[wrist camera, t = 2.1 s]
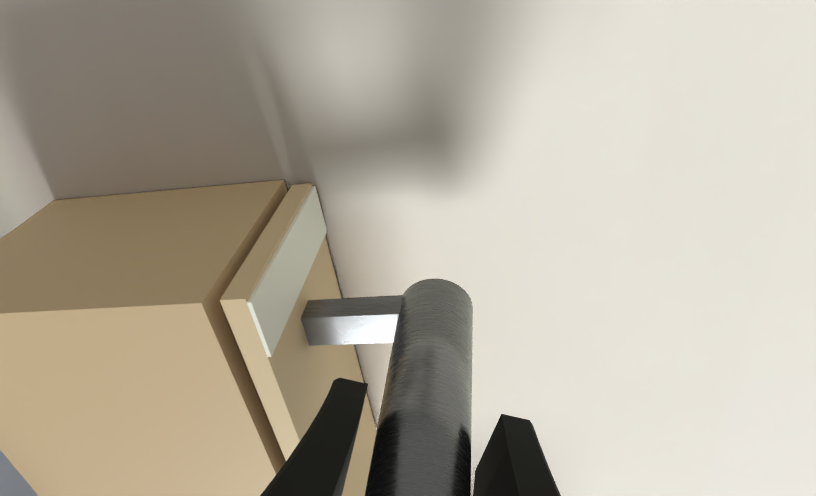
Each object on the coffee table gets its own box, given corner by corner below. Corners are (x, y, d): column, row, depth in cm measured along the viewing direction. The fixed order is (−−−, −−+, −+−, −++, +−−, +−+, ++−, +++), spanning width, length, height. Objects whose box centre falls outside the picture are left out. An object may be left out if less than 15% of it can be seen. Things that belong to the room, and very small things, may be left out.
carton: (184, 439, 24) (108, 580, 19) (53, 200, 18) (-109, 319, 13) (359, 437, 23) (326, 589, 18) (283, 179, 17) (201, 303, 12)
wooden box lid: (363, 437, 23) (300, 744, 14) (292, 184, 17) (111, 471, 8) (491, 436, 22) (498, 762, 14) (464, 169, 16) (451, 472, 8)
